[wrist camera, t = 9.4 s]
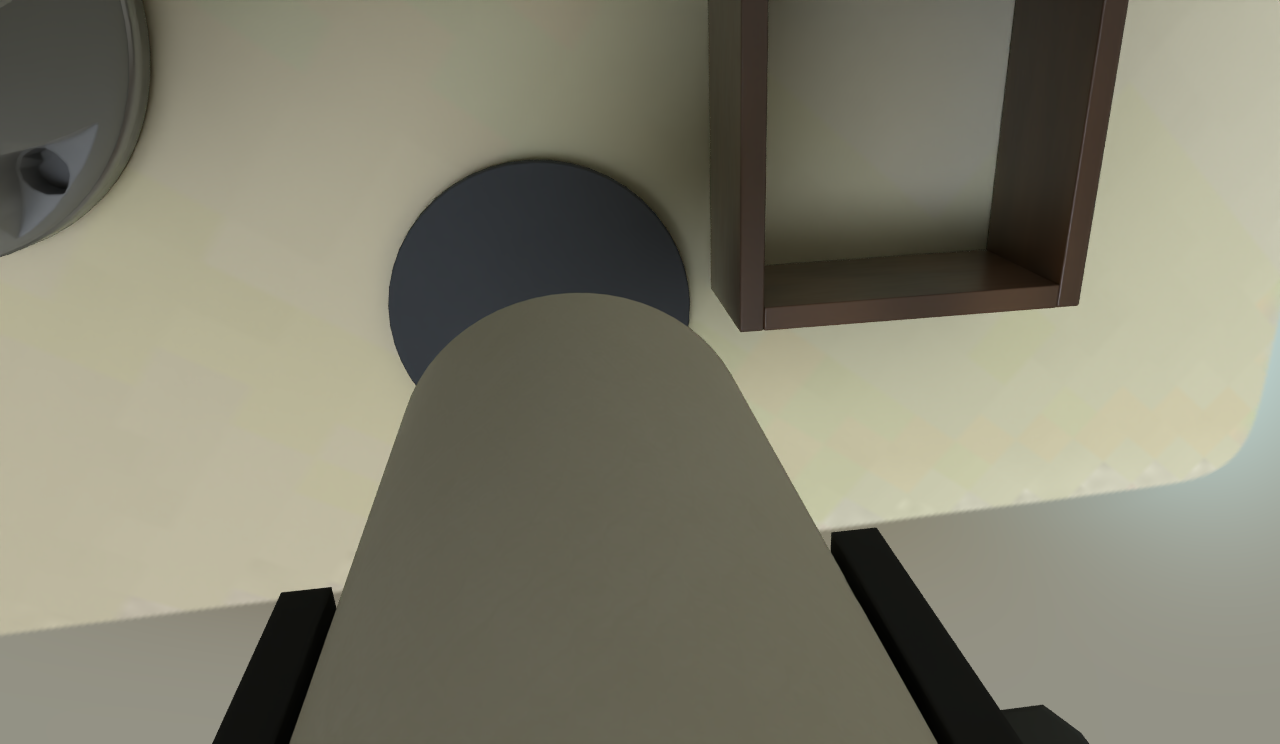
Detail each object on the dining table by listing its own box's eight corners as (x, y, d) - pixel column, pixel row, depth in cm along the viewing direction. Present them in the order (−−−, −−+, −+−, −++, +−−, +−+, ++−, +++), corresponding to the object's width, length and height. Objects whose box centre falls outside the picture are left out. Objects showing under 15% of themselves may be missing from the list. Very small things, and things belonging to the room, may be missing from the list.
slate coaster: (414, 453, 33) (412, 460, 32) (367, 168, 29) (364, 171, 28) (690, 428, 34) (692, 435, 33) (684, 150, 30) (687, 152, 29)
